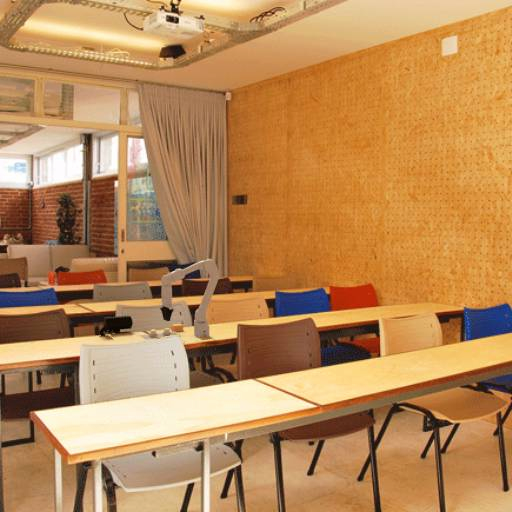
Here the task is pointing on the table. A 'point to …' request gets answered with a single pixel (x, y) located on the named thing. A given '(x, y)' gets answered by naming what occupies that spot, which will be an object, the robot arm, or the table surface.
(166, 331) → the button
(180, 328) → the orange block
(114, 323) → the security camera
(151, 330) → the button
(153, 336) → the breaker panel
